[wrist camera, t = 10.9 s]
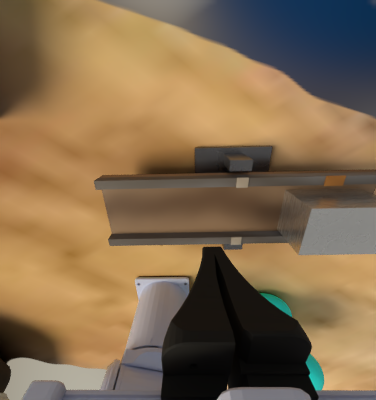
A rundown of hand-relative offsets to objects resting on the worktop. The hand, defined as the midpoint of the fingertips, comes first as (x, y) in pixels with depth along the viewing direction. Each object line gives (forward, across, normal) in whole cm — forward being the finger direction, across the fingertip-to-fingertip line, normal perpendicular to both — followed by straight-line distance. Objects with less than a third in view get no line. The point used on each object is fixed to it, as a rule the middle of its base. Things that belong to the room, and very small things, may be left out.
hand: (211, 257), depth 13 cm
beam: (+8, -3, -1) cm, 9 cm away
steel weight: (+6, -11, -1) cm, 12 cm away
